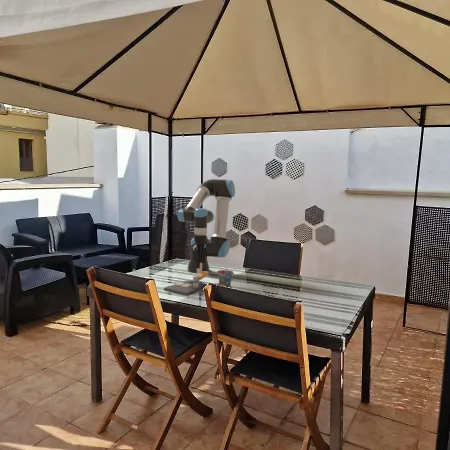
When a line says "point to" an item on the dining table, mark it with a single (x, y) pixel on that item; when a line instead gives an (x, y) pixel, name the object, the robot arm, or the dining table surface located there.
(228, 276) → the mug
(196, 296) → the dining table surface
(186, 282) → the server panel
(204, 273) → the cable arm
